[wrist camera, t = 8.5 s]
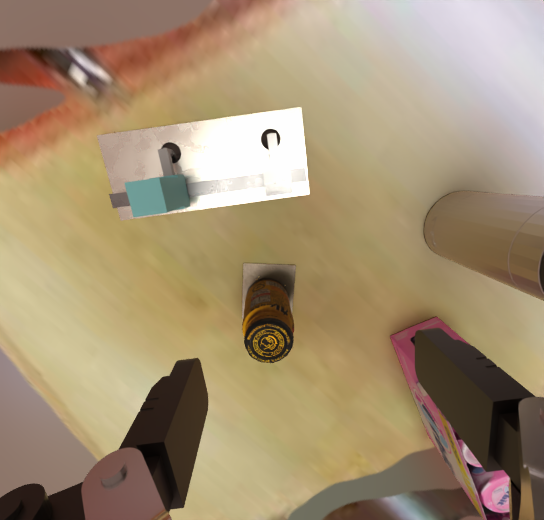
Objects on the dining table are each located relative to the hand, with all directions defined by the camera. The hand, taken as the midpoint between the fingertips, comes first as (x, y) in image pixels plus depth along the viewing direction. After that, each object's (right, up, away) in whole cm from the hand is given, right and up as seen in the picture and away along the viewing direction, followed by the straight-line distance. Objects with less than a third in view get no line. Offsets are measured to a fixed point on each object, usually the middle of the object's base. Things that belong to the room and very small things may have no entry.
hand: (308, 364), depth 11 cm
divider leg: (-13, +14, +24) cm, 31 cm away
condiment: (-2, -1, +31) cm, 31 cm away
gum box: (+25, -16, +37) cm, 47 cm away
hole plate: (-9, +16, +26) cm, 32 cm away
